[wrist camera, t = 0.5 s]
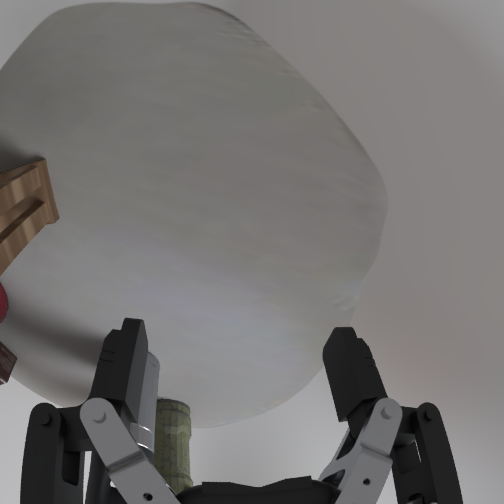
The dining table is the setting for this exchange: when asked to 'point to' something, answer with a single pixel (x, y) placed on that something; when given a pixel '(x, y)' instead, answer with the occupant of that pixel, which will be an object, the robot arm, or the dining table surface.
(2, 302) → the canister
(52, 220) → the walnut shelf stand
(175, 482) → the thermos
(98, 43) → the dining table surface
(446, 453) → the robot arm
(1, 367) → the box
